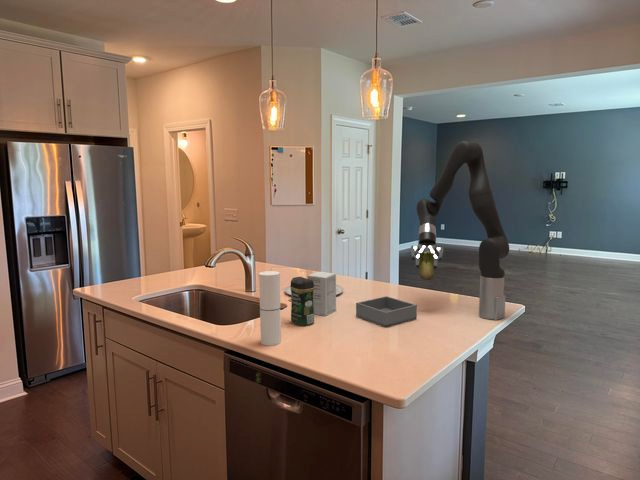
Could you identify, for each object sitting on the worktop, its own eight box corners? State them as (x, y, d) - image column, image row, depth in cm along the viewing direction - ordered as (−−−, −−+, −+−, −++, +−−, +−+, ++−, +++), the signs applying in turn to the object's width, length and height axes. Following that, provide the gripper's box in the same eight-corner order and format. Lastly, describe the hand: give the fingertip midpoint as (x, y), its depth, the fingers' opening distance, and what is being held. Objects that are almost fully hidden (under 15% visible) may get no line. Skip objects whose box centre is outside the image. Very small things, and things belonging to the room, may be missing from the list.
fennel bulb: (417, 279, 190) (418, 251, 189) (423, 277, 194) (424, 250, 192) (429, 281, 186) (430, 253, 185) (435, 279, 190) (436, 251, 188)
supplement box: (318, 307, 200) (318, 271, 198) (336, 310, 196) (336, 273, 193) (307, 313, 192) (306, 275, 190) (325, 316, 187) (325, 277, 185)
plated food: (273, 291, 231) (273, 285, 230) (319, 283, 249) (319, 277, 248) (307, 304, 207) (307, 297, 207) (355, 293, 225) (355, 287, 225)
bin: (416, 319, 183) (416, 305, 182) (385, 327, 173) (385, 312, 172) (386, 309, 197) (386, 296, 196) (356, 316, 187) (356, 302, 186)
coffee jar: (287, 321, 181) (286, 277, 178) (303, 317, 186) (303, 274, 183) (301, 327, 173) (300, 281, 171) (317, 323, 178) (317, 278, 176)
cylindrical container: (262, 346, 154) (260, 275, 151) (259, 339, 161) (257, 271, 158) (282, 344, 156) (281, 274, 153) (279, 337, 163) (277, 270, 159)
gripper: (410, 230, 196) (408, 261, 186) (444, 231, 193) (444, 263, 183) (410, 240, 202) (409, 271, 192) (443, 241, 199) (443, 273, 189)
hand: (426, 267), depth 188 cm, fingers closed on fennel bulb, 6 cm apart
